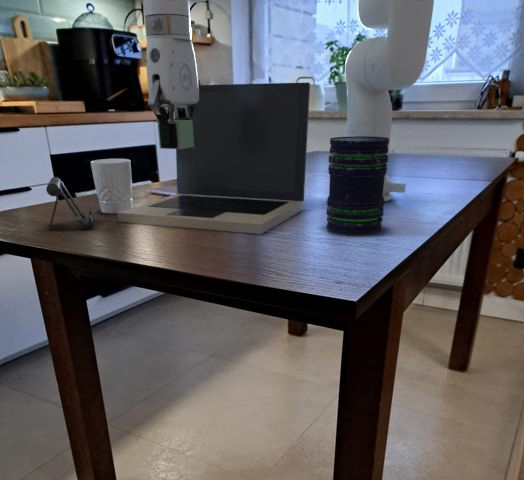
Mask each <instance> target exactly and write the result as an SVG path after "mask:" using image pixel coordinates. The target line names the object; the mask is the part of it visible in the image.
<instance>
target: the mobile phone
mask: <svg viewBox="0 0 524 480" xmlns="http://www.w3.org/2000/svg"><path fill="white" fill-rule="evenodd" d="M148 191H149V193H151V194H156V195H161V196H168V197H169V196H172V195H175V194H177V185H166V186H159V187H154V188H150V189H149V190H148ZM188 195H190V194H188Z"/></svg>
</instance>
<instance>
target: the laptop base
mask: <svg viewBox="0 0 524 480" xmlns="http://www.w3.org/2000/svg"><path fill="white" fill-rule="evenodd" d="M302 211H303V201H288V200H272V199H256V198H239V197H223V196H207V195H188V194H175V195H172V196H169V195H168V196H166V197H162V198H159V199H155V200H152V201H149V202H147V203H146V202H145V203H143V204H140V205H138V206H133V208H130V209H127V210H124V211H121V212H118V213H116V214H117V220H118V221H117V222H119V223H126V224H127V223H128V224H139V225H148V226H149V225H151V226H152V225H153V226H163V227H174V228H185V229H195V230H206V231H207V230H208V231H219V232H230V233H240V234H241V233H242V234H253V235H263V234H264V233H266V232H269V230H272V229H273V228H275V227H276V226H278V225H280V224H281V223H284V222H285V221H286V220H288V219H290V218H291V217H293V216H295V215H296V214H298V213H300V212H302Z"/></svg>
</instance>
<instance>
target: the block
mask: <svg viewBox="0 0 524 480" xmlns="http://www.w3.org/2000/svg"><path fill="white" fill-rule="evenodd" d="M173 124H176V131H177V145H178V147H177V148H162V147H161V143H160V131H159V124H158V123H157V132H158V144H159V145H158V146H159V149H161V150H163V149H164V150H165V149H166V150H167V149H168V150H176V149H185V148H191V147H194V137H193V121H192V120H175V119H174V121H173Z"/></svg>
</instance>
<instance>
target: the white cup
mask: <svg viewBox="0 0 524 480" xmlns="http://www.w3.org/2000/svg"><path fill="white" fill-rule="evenodd" d="M90 168H91V172H92V177H93V183H94V187H95V192H96V196H97V199H98V203H99V204H98V205H99V210H100V212H101V213H103V214H111V215H113V214H117V213H118V212H121V211H124V210H127V209H130V208H133V207H134V198H133V197H134V192H133V191H134V190H133V178H132V177H133V176H132V165H131V160H130V159H128V158H103V159H95V160H91V161H90Z"/></svg>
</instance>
